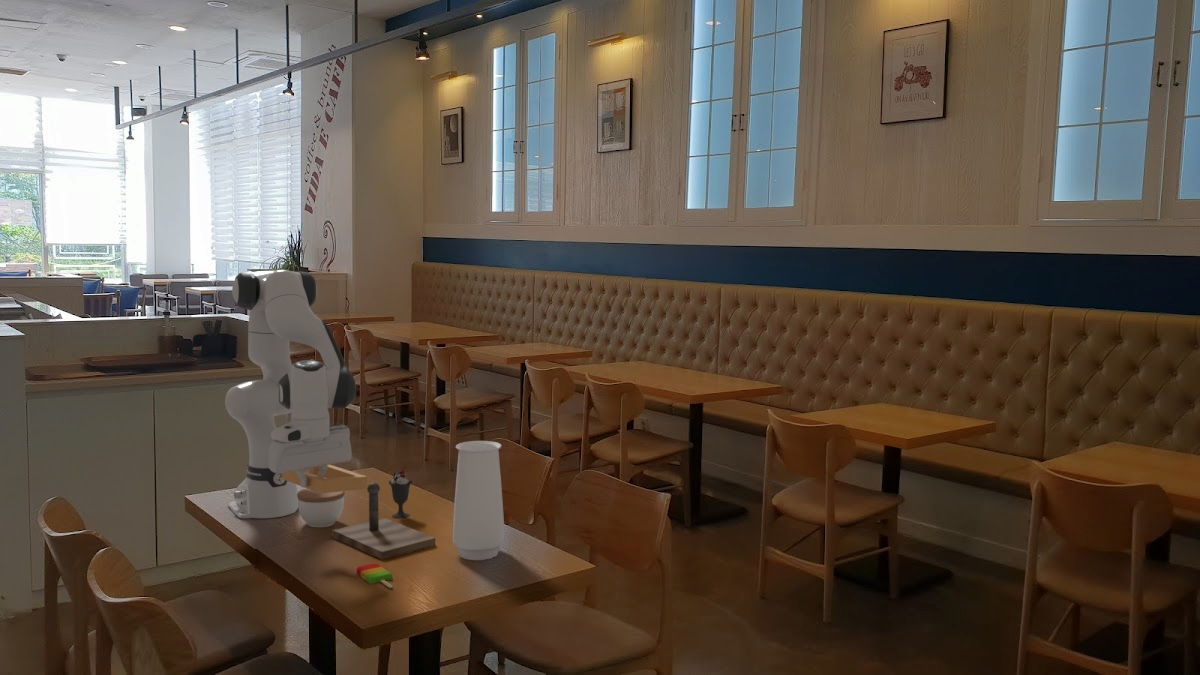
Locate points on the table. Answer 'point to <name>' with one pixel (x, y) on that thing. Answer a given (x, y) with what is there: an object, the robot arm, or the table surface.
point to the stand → (382, 533)
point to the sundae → (400, 491)
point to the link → (329, 480)
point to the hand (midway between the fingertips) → (312, 485)
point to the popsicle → (374, 574)
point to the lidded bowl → (320, 507)
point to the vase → (478, 501)
